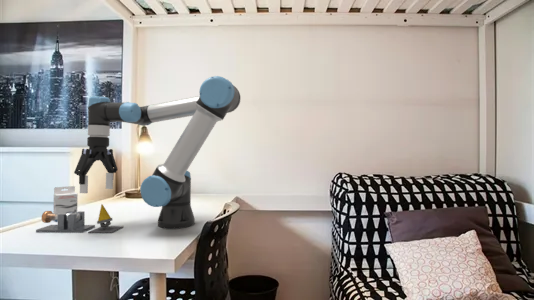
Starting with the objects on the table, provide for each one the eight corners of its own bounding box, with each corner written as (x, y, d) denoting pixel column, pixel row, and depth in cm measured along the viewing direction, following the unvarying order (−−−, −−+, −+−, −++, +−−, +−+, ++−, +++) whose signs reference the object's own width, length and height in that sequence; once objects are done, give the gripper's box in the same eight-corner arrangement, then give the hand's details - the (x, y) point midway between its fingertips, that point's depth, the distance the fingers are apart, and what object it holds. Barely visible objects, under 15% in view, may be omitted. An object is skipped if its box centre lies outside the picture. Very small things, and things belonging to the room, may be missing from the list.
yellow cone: (107, 229, 116) (102, 203, 117) (95, 231, 117) (90, 206, 118) (116, 226, 121) (112, 201, 122) (105, 228, 123) (101, 203, 123)
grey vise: (94, 227, 124) (95, 211, 124) (82, 232, 116) (82, 215, 116) (51, 227, 124) (51, 210, 124) (35, 232, 116) (36, 215, 116)
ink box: (55, 222, 134) (55, 188, 134) (53, 220, 137) (53, 187, 137) (77, 218, 139) (77, 186, 140) (75, 217, 143) (75, 185, 143)
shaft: (82, 221, 122) (82, 210, 122) (75, 224, 117) (75, 212, 118) (50, 221, 122) (50, 209, 123) (41, 224, 118) (41, 212, 118)
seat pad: (123, 227, 124) (123, 226, 124) (111, 233, 115) (111, 232, 115) (101, 227, 124) (101, 226, 124) (88, 233, 115) (88, 232, 115)
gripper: (111, 137, 133) (110, 186, 133) (63, 134, 108) (61, 194, 108) (127, 138, 131) (126, 187, 131) (82, 135, 107) (80, 195, 107)
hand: (97, 190), depth 120 cm, fingers open, 13 cm apart
